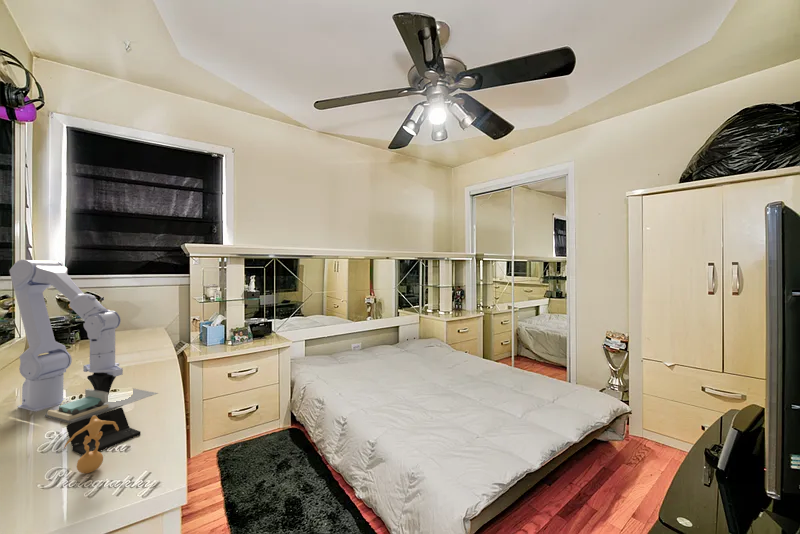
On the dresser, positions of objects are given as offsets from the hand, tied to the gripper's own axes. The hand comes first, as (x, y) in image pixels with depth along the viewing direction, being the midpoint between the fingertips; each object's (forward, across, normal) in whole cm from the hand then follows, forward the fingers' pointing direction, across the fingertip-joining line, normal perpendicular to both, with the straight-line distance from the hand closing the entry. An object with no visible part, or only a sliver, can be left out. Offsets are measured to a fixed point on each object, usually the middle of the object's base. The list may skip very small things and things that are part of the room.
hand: (102, 397), depth 98 cm
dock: (+3, 0, -1) cm, 3 cm away
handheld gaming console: (+3, -23, +12) cm, 26 cm away
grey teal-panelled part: (+2, 0, +5) cm, 5 cm away
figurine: (+3, -35, +22) cm, 41 cm away
